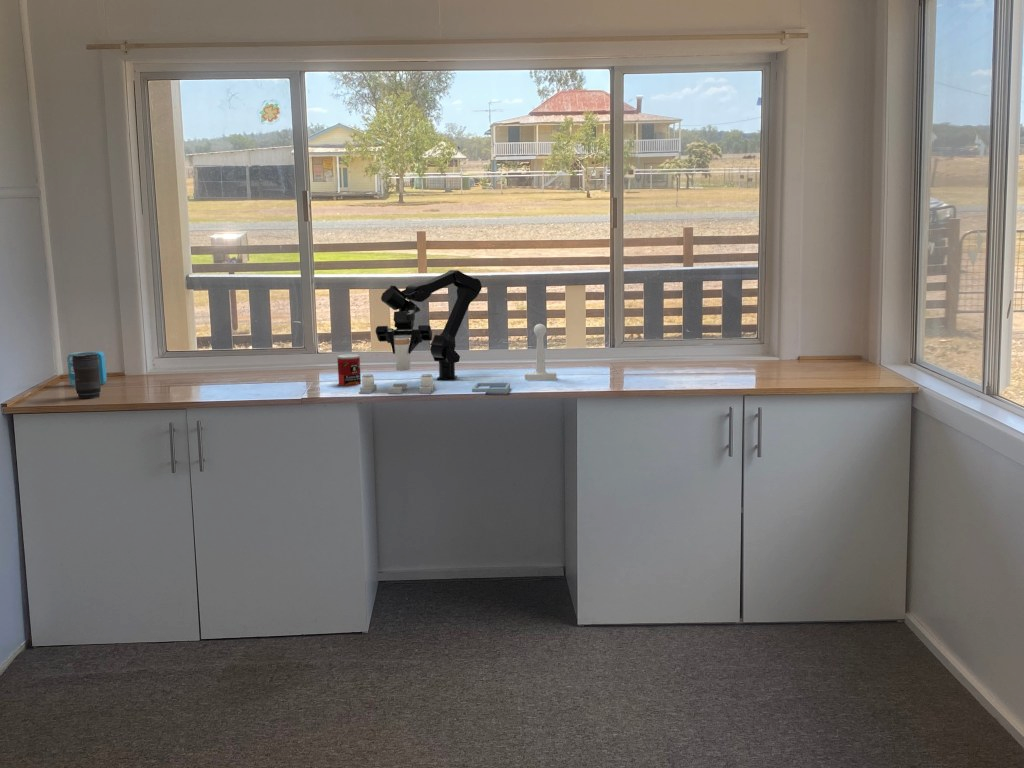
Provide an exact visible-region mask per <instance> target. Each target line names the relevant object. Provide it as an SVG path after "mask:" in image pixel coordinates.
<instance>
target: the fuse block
mask: <svg viewBox="0 0 1024 768" xmlns="http://www.w3.org/2000/svg"><path fill="white" fill-rule="evenodd" d="M377 386H378V385H377V383H374V388H375V391H374V392H372V387H362V386H361V387H360V388H359V392H358V394H389V395H390V394H396V395H397V394H400V395H401V394H434V393H435V392H436V390H438V389H436V388H435V387H436V385H435V383H433V392H431V387H421V386H420V387H419V388H409V389H408V383H393V384H392V387H388V388H380V389H379V388H377Z"/></svg>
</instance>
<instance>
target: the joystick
mask: <svg viewBox="0 0 1024 768" xmlns="http://www.w3.org/2000/svg"><path fill="white" fill-rule="evenodd" d="M533 332H534V335H535V336H536V354H535V356H536V357H535V371H534V372H525V373H524V380H546V381H555V380H554V379H556V380H557V372H556V371H552V372H551V371H549V372H546V371H547V370H546V357H545V344H544V343H545V342H544V337H545V335H546V333H547V328H546V325H544V324H542V323H537V324H535V326H534V327H533Z"/></svg>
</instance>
